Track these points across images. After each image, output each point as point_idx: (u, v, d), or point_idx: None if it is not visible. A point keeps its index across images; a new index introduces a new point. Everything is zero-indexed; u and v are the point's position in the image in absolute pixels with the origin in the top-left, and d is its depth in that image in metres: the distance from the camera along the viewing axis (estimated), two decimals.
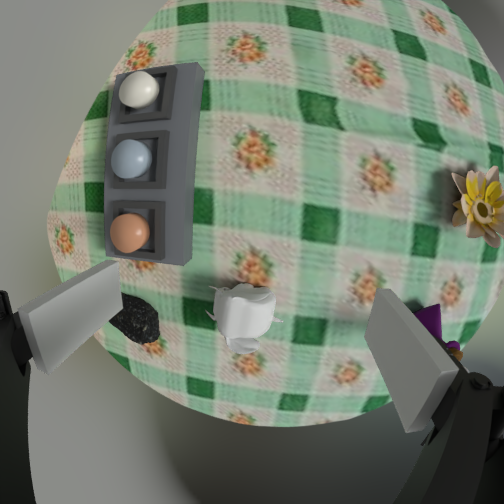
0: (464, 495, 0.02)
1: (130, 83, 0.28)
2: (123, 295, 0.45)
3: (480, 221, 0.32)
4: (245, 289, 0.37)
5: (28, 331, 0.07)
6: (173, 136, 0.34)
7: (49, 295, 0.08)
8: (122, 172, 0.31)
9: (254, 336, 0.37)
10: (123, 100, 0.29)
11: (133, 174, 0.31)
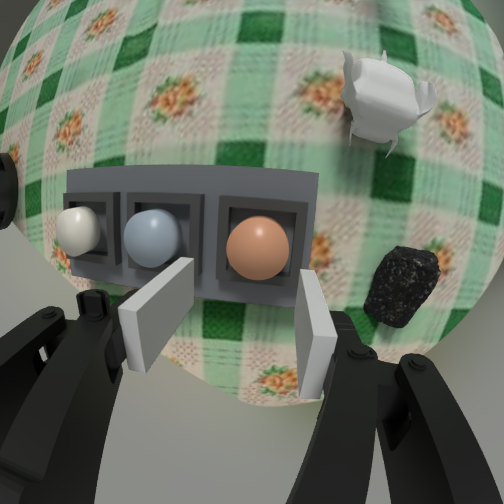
0: (355, 471, 0.03)
1: (66, 240, 0.24)
2: (369, 298, 0.31)
3: None
4: (345, 84, 0.21)
5: (129, 330, 0.08)
6: (139, 185, 0.27)
7: (146, 292, 0.10)
8: (164, 247, 0.23)
9: (410, 79, 0.19)
10: (81, 248, 0.24)
11: (167, 228, 0.23)
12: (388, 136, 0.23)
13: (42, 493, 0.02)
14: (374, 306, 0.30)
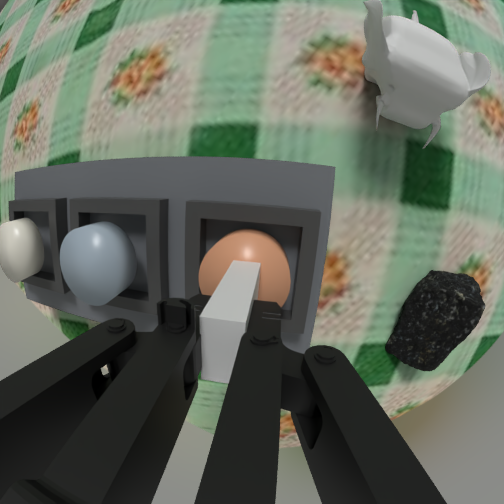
0: (260, 457, 0.04)
1: (6, 262, 0.16)
2: (394, 337, 0.22)
3: None
4: (370, 43, 0.12)
5: (211, 339, 0.09)
6: (87, 189, 0.18)
7: (221, 298, 0.10)
8: (108, 280, 0.15)
9: None
10: (21, 273, 0.16)
11: (109, 252, 0.14)
12: (429, 118, 0.14)
13: None
14: (399, 346, 0.22)
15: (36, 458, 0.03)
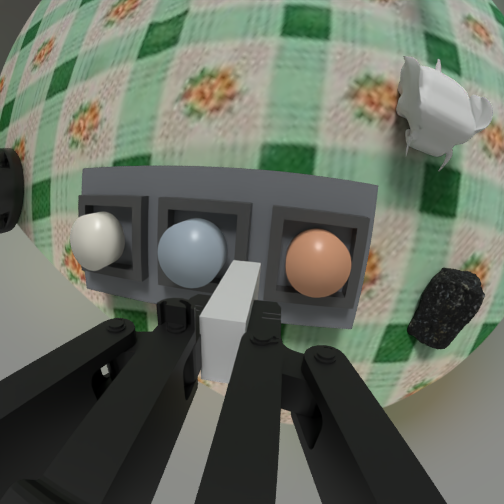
0: (261, 457, 0.04)
1: (83, 252, 0.22)
2: (414, 320, 0.27)
3: None
4: (406, 91, 0.18)
5: (211, 339, 0.09)
6: (172, 189, 0.24)
7: (221, 298, 0.10)
8: (210, 265, 0.20)
9: (466, 92, 0.15)
10: (102, 261, 0.22)
11: (215, 243, 0.20)
12: (444, 150, 0.20)
13: None
14: (418, 328, 0.27)
15: (36, 458, 0.03)
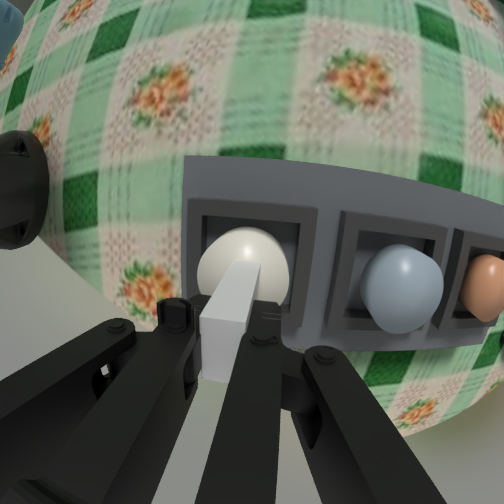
0: (260, 457, 0.04)
1: None
2: None
3: None
4: None
5: (211, 339, 0.09)
6: (351, 201, 0.17)
7: (221, 298, 0.10)
8: (430, 305, 0.14)
9: None
10: None
11: (441, 278, 0.13)
12: None
13: None
14: None
15: (36, 458, 0.03)
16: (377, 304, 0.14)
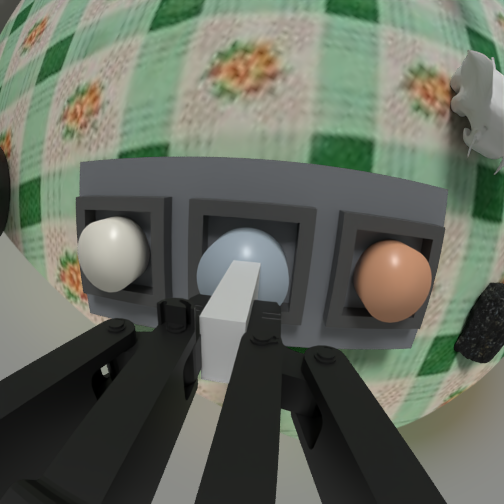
0: (260, 457, 0.04)
1: (95, 268, 0.17)
2: (462, 338, 0.23)
3: None
4: (471, 87, 0.13)
5: (211, 339, 0.09)
6: (206, 188, 0.18)
7: (221, 298, 0.10)
8: (273, 293, 0.15)
9: None
10: (123, 281, 0.17)
11: (282, 263, 0.15)
12: (502, 153, 0.15)
13: None
14: (466, 345, 0.23)
15: (36, 458, 0.03)
16: (205, 287, 0.15)
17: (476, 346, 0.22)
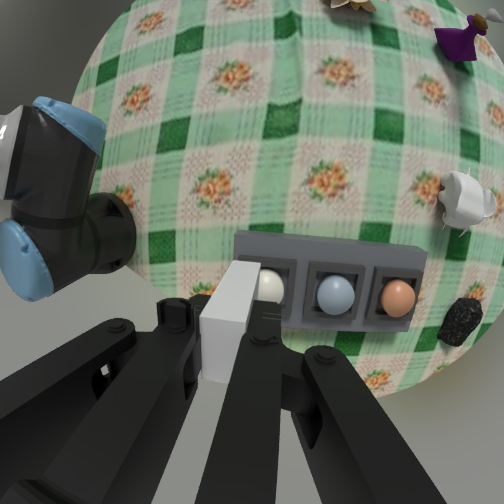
0: (261, 457, 0.04)
1: None
2: (441, 330, 0.42)
3: None
4: (449, 195, 0.32)
5: (211, 339, 0.09)
6: (314, 256, 0.38)
7: (221, 298, 0.10)
8: (348, 302, 0.36)
9: (482, 191, 0.29)
10: None
11: (352, 290, 0.35)
12: (464, 226, 0.34)
13: None
14: (444, 334, 0.41)
15: (36, 458, 0.03)
16: (321, 301, 0.36)
17: (451, 335, 0.40)
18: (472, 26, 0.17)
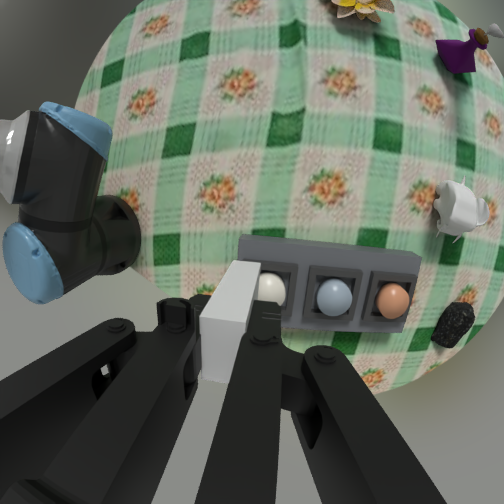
0: (260, 457, 0.04)
1: (260, 299, 0.39)
2: (435, 332, 0.44)
3: None
4: (443, 204, 0.34)
5: (211, 339, 0.09)
6: (314, 261, 0.40)
7: (221, 298, 0.10)
8: (346, 304, 0.38)
9: (476, 201, 0.32)
10: None
11: (350, 293, 0.37)
12: (457, 233, 0.36)
13: None
14: (437, 337, 0.44)
15: (36, 458, 0.03)
16: (320, 303, 0.38)
17: (444, 338, 0.43)
18: (473, 40, 0.19)
